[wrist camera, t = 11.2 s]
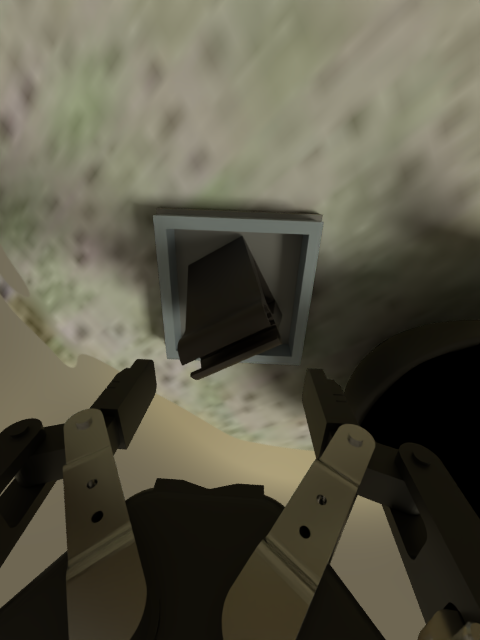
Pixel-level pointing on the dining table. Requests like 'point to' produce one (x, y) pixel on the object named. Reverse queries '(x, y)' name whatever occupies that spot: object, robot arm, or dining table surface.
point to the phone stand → (227, 310)
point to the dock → (269, 253)
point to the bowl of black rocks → (426, 396)
